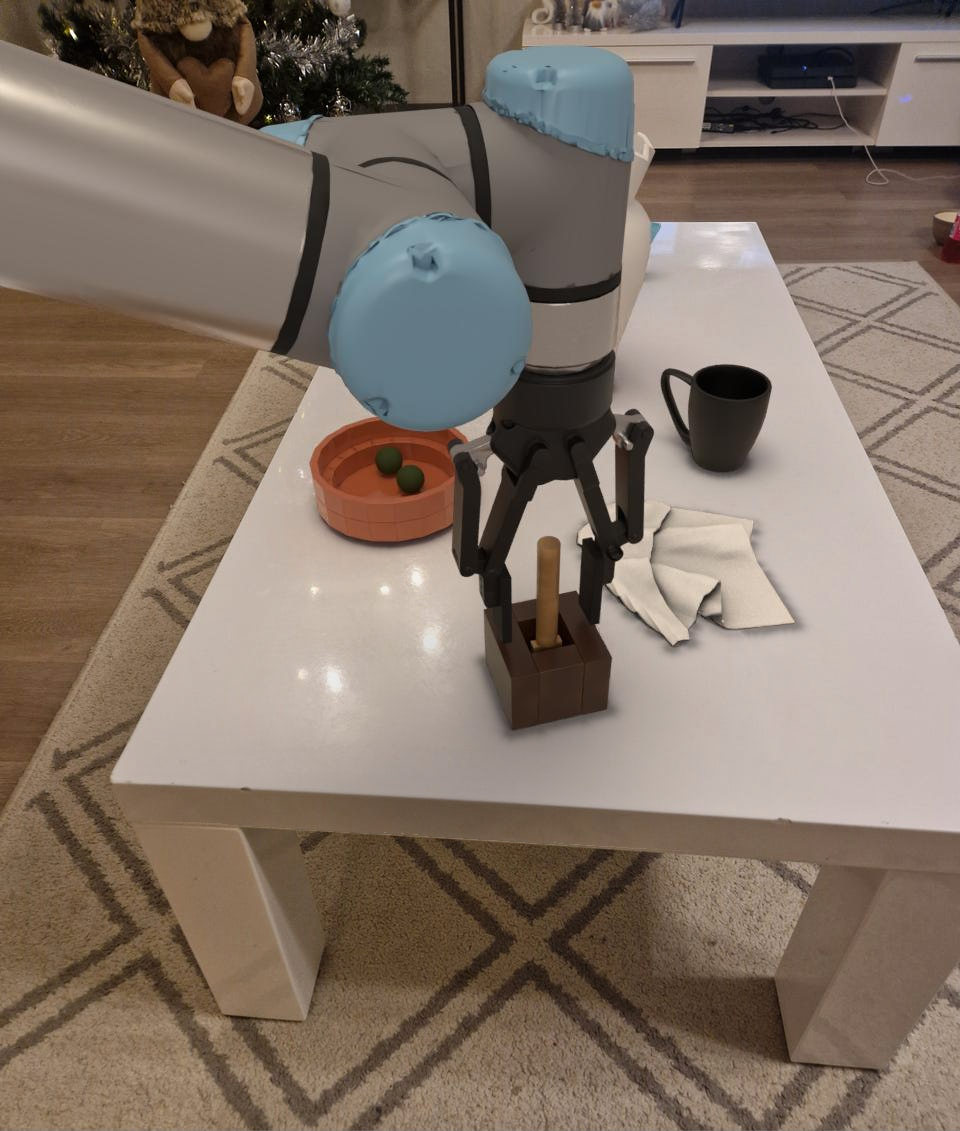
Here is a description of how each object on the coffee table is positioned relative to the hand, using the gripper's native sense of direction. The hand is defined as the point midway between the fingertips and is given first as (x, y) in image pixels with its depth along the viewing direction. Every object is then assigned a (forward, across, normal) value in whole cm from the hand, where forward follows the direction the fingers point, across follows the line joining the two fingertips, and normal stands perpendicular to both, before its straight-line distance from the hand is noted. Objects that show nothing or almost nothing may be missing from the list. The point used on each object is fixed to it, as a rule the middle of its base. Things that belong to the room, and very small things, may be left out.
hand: (546, 621), depth 67 cm
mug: (+7, -28, -28) cm, 40 cm away
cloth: (+7, -17, -10) cm, 21 cm away
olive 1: (+5, +7, -34) cm, 35 cm away
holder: (+7, 0, 0) cm, 7 cm away
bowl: (+7, +7, -30) cm, 31 cm away
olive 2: (+5, +5, -29) cm, 30 cm away
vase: (+7, -20, -47) cm, 52 cm away
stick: (+7, 0, 0) cm, 7 cm away
